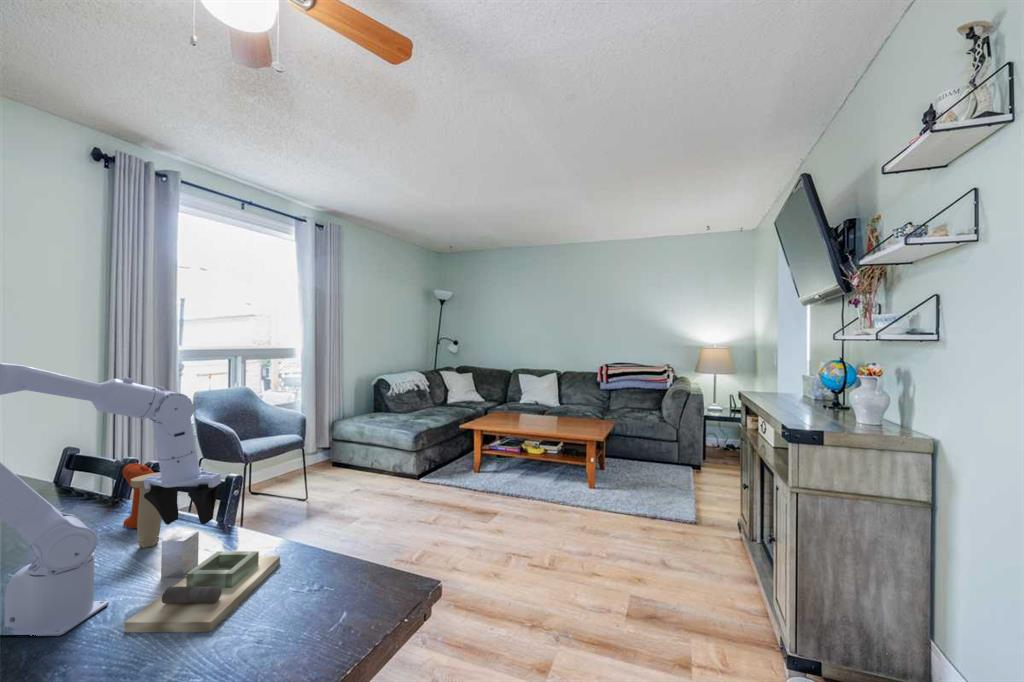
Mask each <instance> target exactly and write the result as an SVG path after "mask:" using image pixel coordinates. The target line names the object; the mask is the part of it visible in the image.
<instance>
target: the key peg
mask: <svg viewBox="0 0 1024 682" xmlns="http://www.w3.org/2000/svg"><path fill="white" fill-rule="evenodd" d="M199 534H200V533H199V531H177V532H175V533H173V534H172V535H170V536H169V537H166V538H165V539H162V540H161V557H160V558H161V559H160V560H161V561H160V562H161V563H160V564H161V565H160V568H161V569H160V572H161V573H160V578H161V579H185V578H186V577H187V573H188V572H190V571H191V570H192V569H194V568H195V567H197V566H198V565H199V541H200V540H199V536H200V535H199Z"/></svg>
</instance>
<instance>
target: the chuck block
mask: <svg viewBox="0 0 1024 682" xmlns="http://www.w3.org/2000/svg"><path fill="white" fill-rule="evenodd" d="M280 564H281V556H280V555H279V556H278V555H277V556H274V555H271V556H269V555H267V556H262V555H261V556H260V555H259V551H258V550H257V551H256V550H255V551H253V550H250V551H243V550H242V551H233V550H231V551H230V550H229V551H222V550H220V551H218V550H217V551H216V552H214V553H213V554H211V555H210V556H209V557H208V558H206V559H205V560H203V561H202V562H201V563H200V564H199V563H198V566H197V567H195V568H194V569H192V570H191V571H190V572H188V573H187V575H186V576H185V577H184V578H182V580H180V581H179V582H177V583H176V584H175V585H174V586H168V587H166V589H165V590H164V591H163V593H162V594H161V595H160V596H159V597H157V598H155V600H152V601H151V603H149V604H147V606H145V607H144V608H142V609H141V610H140V611H139V612H137V613H136V614H134V615H133V616H131V617H130V618H129V619H127V620H126V621H125V622H124V633H201V632H202V633H204V632H205V633H208V632H210V633H211V632H212V631H213V630H214V629H216V628H217V626H219V625H220V623H222V621H223V620H224V619H225V618H227V617H228V616H229V615H230V614H231V613H232V612H233V611H234V610H235V609H236V608H237V607H238V606H239V605H240V604H241V603H242V602H243V601H244V600H245V599H246V598H247V597H248V596H249V595H250V594H251V593H252V592H253V591H254V590H255V589H256V588H257V587H258V586H259V585H260V584H261V583H262V582H263V581H264V580H265V579H267V577H269V576H270V575H271V574H272V573H273V572H274V571H275V569H276V568H278V566H280Z"/></svg>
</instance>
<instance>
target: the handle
mask: <svg viewBox="0 0 1024 682" xmlns="http://www.w3.org/2000/svg"><path fill="white" fill-rule="evenodd" d="M159 474H161V471H159V472H154V473H151V474H146V475H142V476H138V477H135V478H133V479H131V486H133V487H136V488H139V490H140V497H139V509H138V518H137V529H136V531H137V533H136V534H137V537H138V538H137V539H138V543H137V544H138V547H139V548H142V549H145V548H150V547H154V546H155V545H157V544H158V543H159V542H160V533H161V524H162V517H161V516H160V514H159V512H158V511H157V509H156V508H155V507H154V506H153V505H152V504H151V503H150V502H149V501H148V500H146V499H145V498H144V494H145V493H147V492H149V491H150V489H151V488H150V489H145V486H144V481H143V479H145V478H147V477H150V476H152V475H159ZM131 486H130V487H131Z"/></svg>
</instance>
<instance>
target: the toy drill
mask: <svg viewBox="0 0 1024 682" xmlns="http://www.w3.org/2000/svg"><path fill="white" fill-rule="evenodd" d="M114 463H115V464H116V465H118V467H119V470H120V471H121V472H122V475H123V478H124V479H125V480H126V482H127V483H128V484H129V486H130V487H131V489H133V494H132V495H133V496H132V503H131V514H130V516H128V517H126V518H125V519H124V521H123V526H124V525H125V526H126V527H125V526H124V527H125V528H127V527H129V528H128V529H130V528H137V518H138V509H139V497H140V490H139V488H136V487H133V486H131V479H133V478H135V477H138V476H142V475H146V474H151V473H155V472H154V471H153V470H152V469H151V468H150V467H148V465H146V464H141V463H139V462H138V463H137V462H135V463H132V462H129V461H128V462H123V461H121V460H119V459H116V460H115V461H114Z"/></svg>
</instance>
